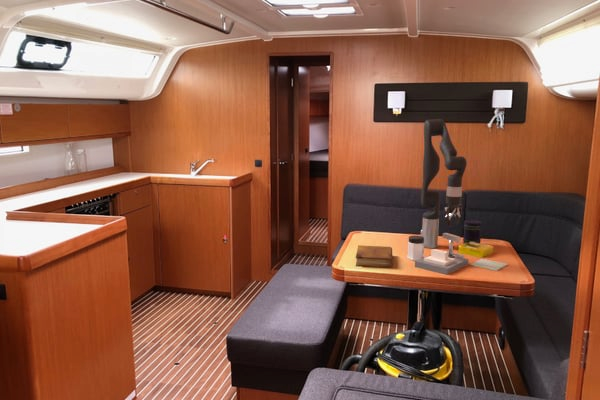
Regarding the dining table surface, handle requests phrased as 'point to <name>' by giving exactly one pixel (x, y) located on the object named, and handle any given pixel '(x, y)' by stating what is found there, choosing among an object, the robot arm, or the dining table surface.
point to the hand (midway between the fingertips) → (452, 225)
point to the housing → (440, 268)
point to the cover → (439, 257)
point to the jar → (415, 248)
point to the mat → (488, 264)
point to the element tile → (475, 249)
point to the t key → (451, 239)
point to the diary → (374, 256)
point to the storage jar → (472, 231)
